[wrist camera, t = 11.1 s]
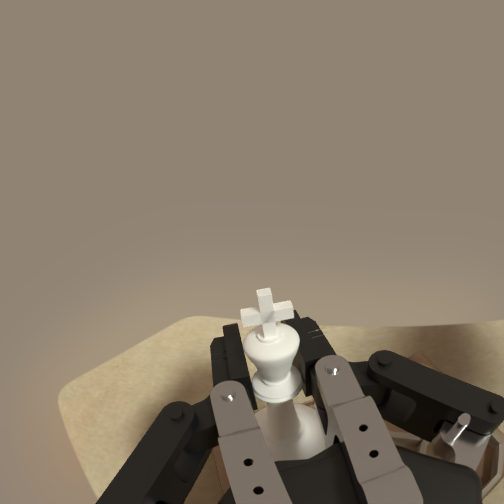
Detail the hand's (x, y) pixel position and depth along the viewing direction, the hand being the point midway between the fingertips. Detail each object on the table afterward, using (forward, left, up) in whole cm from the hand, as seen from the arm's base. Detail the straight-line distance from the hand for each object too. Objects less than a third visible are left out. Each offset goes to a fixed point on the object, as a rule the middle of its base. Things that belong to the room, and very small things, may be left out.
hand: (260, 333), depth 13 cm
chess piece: (0, +3, -6) cm, 7 cm away
